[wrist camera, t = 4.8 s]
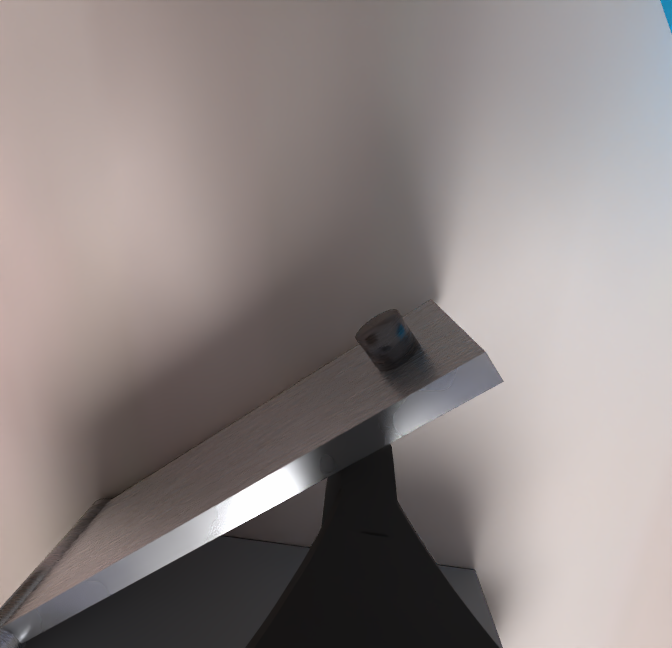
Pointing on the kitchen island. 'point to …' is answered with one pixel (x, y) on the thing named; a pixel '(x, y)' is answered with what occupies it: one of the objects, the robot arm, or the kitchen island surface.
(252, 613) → the camera body
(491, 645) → the robot arm
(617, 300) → the kitchen island surface
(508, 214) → the kitchen island surface
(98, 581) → the side door
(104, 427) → the kitchen island surface
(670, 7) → the mug
